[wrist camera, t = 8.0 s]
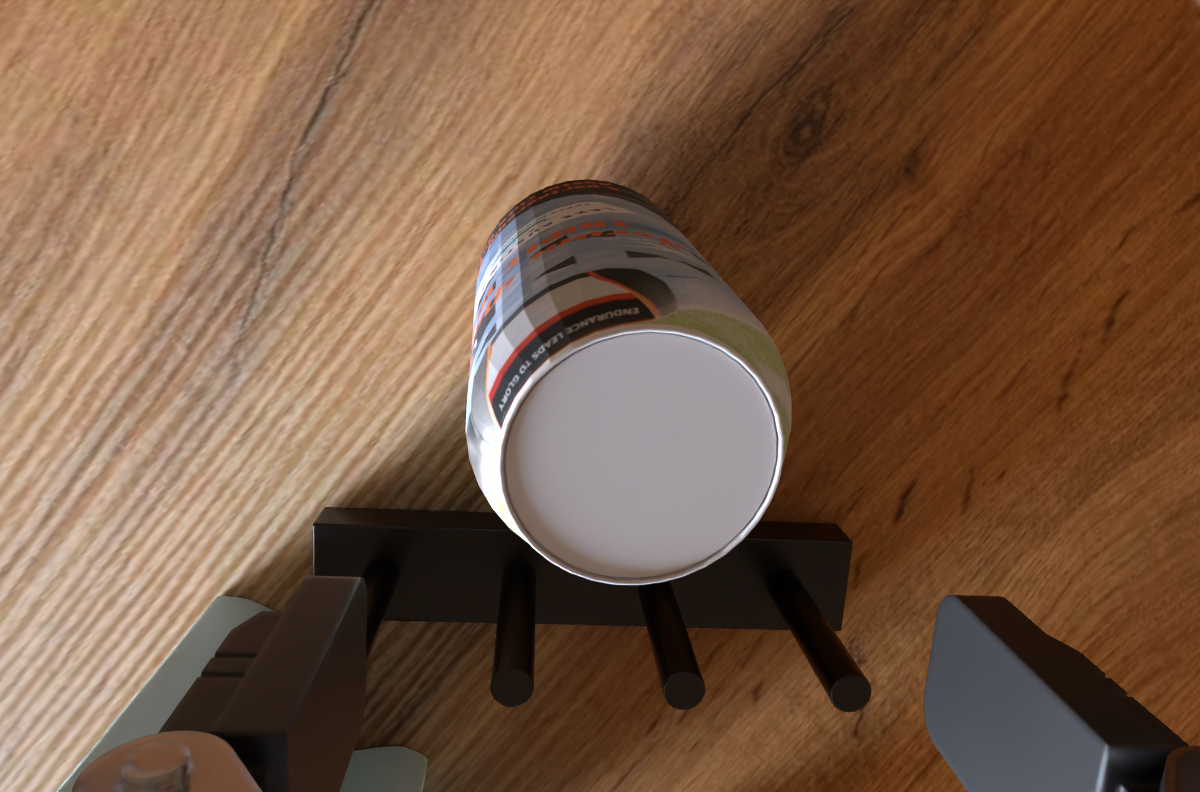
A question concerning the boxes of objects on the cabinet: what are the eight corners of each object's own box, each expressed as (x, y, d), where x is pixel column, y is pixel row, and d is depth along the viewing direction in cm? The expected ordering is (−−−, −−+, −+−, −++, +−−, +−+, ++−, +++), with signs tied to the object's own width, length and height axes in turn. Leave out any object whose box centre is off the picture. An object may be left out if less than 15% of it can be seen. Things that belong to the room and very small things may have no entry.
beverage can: (625, 139, 25) (697, 113, 13) (741, 361, 26) (893, 513, 15) (433, 249, 25) (335, 318, 13) (559, 460, 27) (570, 681, 15)
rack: (324, 506, 27) (242, 622, 19) (837, 522, 28) (942, 638, 20) (325, 596, 27) (245, 742, 20) (826, 610, 28) (924, 751, 21)
